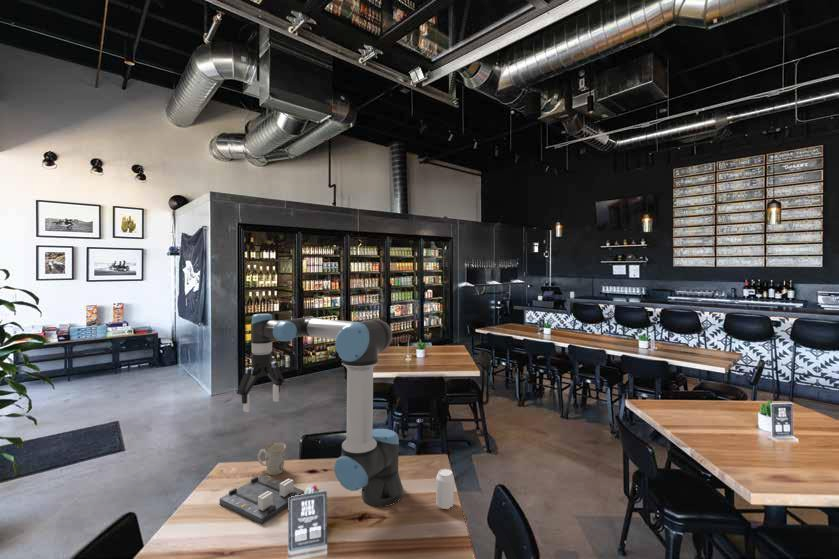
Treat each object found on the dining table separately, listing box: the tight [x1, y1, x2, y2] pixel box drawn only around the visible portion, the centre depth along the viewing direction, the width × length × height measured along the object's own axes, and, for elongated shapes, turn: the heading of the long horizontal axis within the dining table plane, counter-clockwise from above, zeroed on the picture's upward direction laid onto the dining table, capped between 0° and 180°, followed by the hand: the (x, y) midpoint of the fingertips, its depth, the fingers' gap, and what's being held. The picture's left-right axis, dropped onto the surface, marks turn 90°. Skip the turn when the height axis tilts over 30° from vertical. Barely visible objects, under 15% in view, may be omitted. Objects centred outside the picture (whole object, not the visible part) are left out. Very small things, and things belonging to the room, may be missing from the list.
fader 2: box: [280, 478, 294, 497], centre depth 135 cm, size 2×4×4 cm, turn 151°
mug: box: [256, 442, 287, 476], centre depth 154 cm, size 8×13×10 cm, turn 78°
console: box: [219, 474, 305, 526], centre depth 134 cm, size 22×18×3 cm
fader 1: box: [258, 491, 273, 511], centre depth 127 cm, size 2×4×4 cm, turn 151°
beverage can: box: [435, 468, 455, 508], centre depth 131 cm, size 6×6×12 cm
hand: (261, 406), depth 150 cm, fingers open, 13 cm apart
